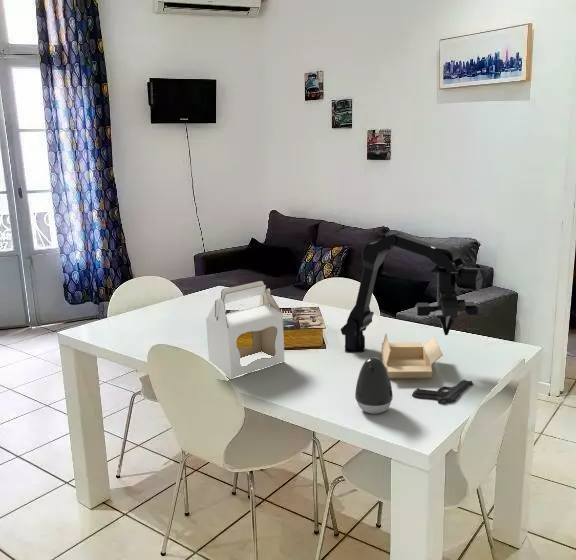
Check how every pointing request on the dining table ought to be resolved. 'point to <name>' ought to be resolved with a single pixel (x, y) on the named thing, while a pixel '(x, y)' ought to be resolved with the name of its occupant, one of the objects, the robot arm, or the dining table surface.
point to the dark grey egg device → (373, 387)
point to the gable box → (245, 330)
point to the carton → (408, 361)
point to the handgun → (443, 392)
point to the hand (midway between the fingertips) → (446, 334)
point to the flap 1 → (386, 348)
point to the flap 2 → (433, 350)
